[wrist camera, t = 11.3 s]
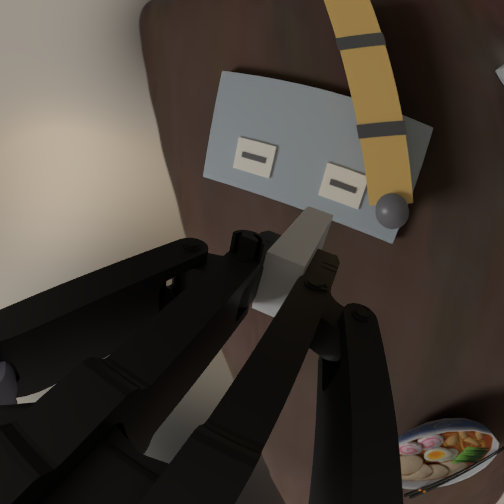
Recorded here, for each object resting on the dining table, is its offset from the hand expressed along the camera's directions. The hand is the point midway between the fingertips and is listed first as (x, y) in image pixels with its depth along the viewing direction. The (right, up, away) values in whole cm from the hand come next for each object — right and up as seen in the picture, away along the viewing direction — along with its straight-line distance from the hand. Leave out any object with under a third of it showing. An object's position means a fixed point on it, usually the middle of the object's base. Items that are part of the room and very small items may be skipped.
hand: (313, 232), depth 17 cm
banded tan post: (+8, +13, +7) cm, 17 cm away
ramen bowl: (+30, -33, +21) cm, 49 cm away
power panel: (+3, +10, +14) cm, 17 cm away
